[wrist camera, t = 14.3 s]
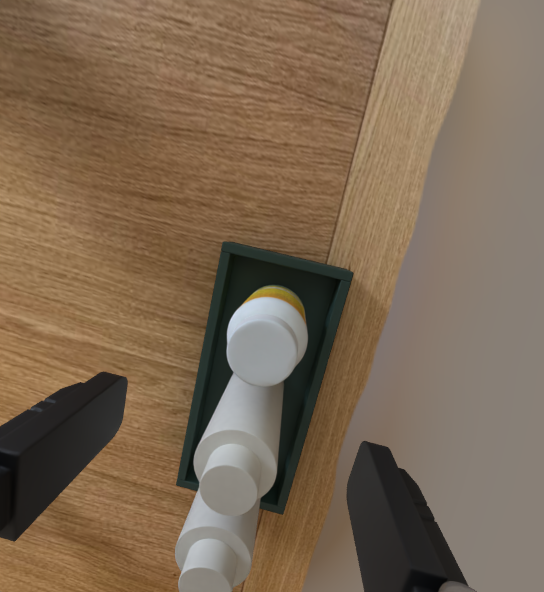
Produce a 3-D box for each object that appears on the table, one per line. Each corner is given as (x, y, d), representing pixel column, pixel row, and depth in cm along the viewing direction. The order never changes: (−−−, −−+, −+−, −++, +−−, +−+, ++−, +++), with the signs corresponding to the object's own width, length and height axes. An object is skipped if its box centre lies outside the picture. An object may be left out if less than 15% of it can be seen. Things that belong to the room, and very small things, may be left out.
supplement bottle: (307, 339, 25) (314, 397, 16) (249, 344, 25) (221, 402, 16) (301, 280, 24) (305, 303, 15) (241, 286, 25) (207, 312, 15)
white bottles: (237, 353, 26) (191, 439, 14) (289, 366, 26) (284, 464, 14) (213, 461, 28) (157, 609, 17) (261, 474, 28) (237, 632, 17)
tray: (231, 241, 25) (222, 241, 22) (346, 269, 24) (354, 272, 22) (187, 461, 30) (175, 485, 27) (284, 487, 29) (283, 515, 26)
